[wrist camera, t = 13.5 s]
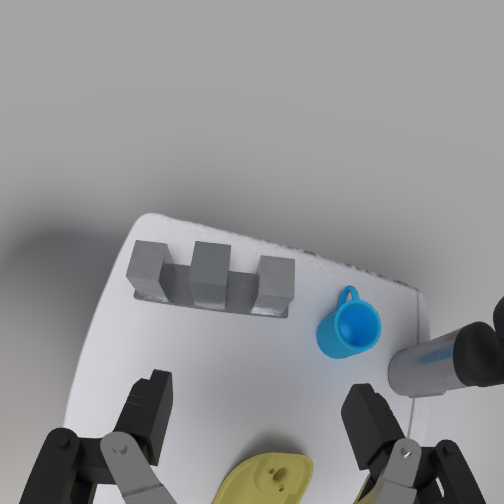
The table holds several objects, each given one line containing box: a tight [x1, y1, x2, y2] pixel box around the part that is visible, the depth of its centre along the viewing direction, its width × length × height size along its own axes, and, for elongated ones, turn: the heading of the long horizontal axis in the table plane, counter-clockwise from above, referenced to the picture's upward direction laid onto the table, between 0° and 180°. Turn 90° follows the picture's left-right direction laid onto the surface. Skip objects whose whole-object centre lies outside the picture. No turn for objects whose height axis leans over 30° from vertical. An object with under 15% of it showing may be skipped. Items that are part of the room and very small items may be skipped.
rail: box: [126, 240, 295, 318], centre depth 43 cm, size 26×7×9 cm, turn 86°
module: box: [188, 241, 231, 308], centre depth 41 cm, size 5×6×10 cm
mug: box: [316, 285, 381, 359], centre depth 43 cm, size 12×8×8 cm
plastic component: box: [212, 452, 313, 504], centre depth 30 cm, size 20×7×10 cm
